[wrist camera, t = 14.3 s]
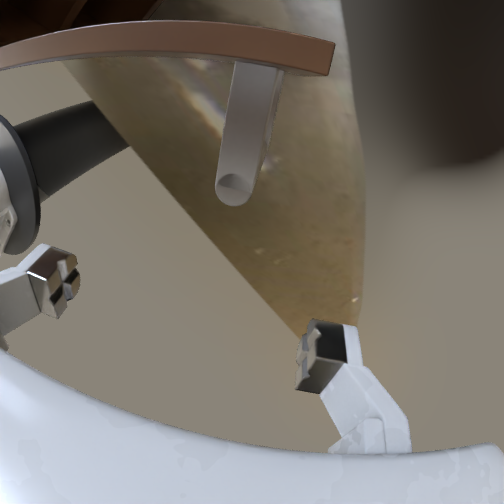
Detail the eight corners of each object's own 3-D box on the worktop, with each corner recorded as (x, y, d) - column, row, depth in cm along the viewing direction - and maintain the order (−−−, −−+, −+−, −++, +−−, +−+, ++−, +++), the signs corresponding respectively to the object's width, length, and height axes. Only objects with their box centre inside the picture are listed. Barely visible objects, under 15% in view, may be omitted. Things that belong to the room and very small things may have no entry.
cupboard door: (289, 141, 29) (273, 282, 11) (123, 115, 29) (-43, 200, 11) (306, 66, 24) (336, 42, 6) (130, 48, 25) (-54, 69, 6)
